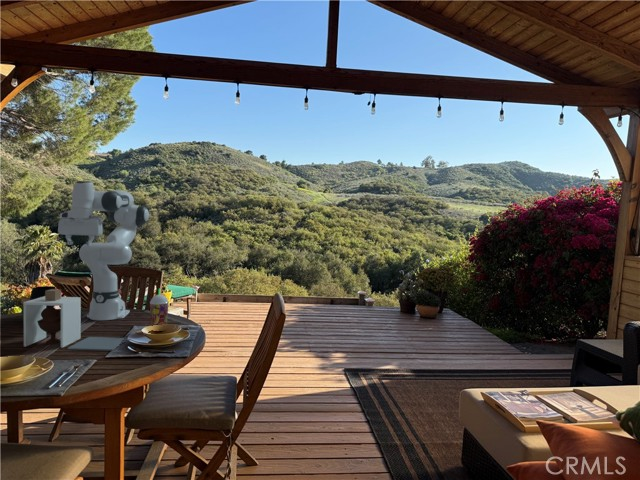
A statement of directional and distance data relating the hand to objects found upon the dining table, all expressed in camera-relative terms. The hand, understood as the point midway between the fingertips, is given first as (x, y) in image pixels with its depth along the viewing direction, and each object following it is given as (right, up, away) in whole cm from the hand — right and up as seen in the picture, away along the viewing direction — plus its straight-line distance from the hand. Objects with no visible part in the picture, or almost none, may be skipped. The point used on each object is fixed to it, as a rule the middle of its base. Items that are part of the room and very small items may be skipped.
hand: (79, 245), depth 195 cm
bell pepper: (-31, -38, +14) cm, 51 cm away
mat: (+19, -41, -18) cm, 49 cm away
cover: (-1, -41, -17) cm, 44 cm away
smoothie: (+35, -41, +5) cm, 54 cm away
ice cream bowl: (-1, -41, -17) cm, 44 cm away
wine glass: (-15, -39, -2) cm, 42 cm away
